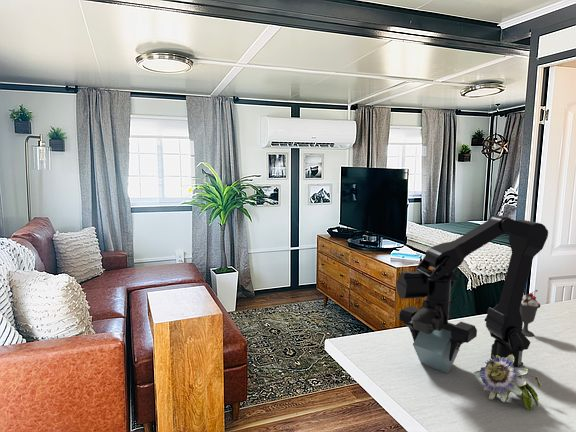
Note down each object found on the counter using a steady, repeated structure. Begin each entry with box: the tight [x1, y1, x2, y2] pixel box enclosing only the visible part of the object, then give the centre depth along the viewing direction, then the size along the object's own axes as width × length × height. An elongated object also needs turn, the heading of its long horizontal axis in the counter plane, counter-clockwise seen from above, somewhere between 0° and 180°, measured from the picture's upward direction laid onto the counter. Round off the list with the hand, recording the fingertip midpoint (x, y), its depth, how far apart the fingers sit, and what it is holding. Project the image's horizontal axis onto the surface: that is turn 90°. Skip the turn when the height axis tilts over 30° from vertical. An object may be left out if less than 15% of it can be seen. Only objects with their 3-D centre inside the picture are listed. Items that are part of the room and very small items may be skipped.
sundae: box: [520, 289, 541, 337], centre depth 125 cm, size 7×7×15 cm
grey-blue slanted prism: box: [412, 329, 460, 374], centre depth 104 cm, size 8×8×9 cm
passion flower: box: [473, 354, 542, 411], centre depth 92 cm, size 11×11×12 cm
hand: (433, 353), depth 103 cm, fingers open, 9 cm apart
